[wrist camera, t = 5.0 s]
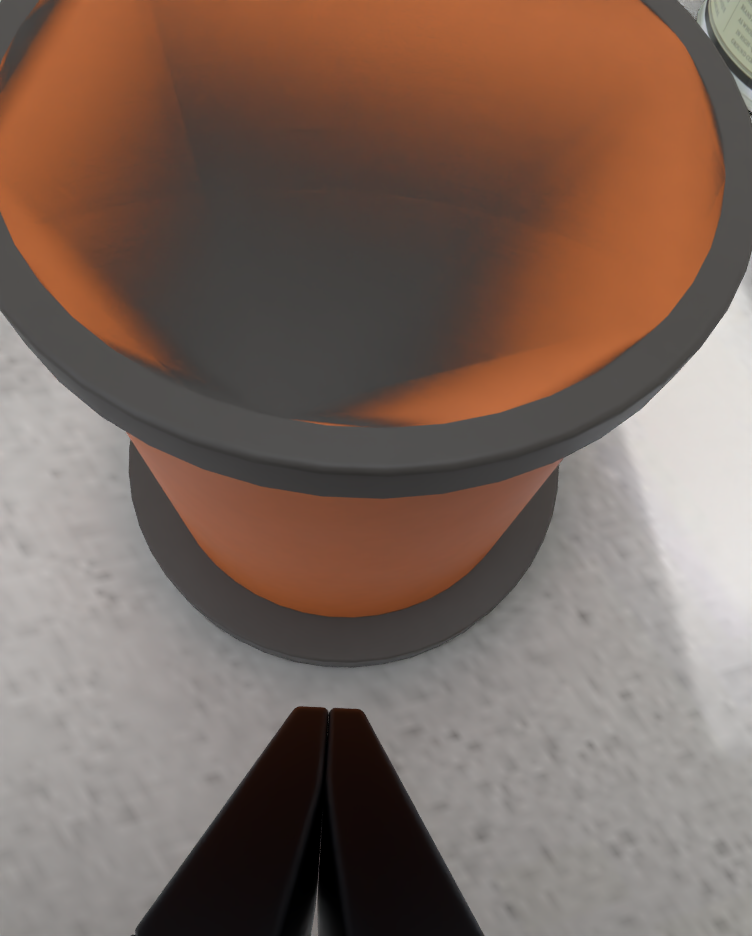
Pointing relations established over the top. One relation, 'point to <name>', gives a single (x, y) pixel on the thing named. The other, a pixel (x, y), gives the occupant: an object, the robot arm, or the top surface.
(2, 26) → the spool
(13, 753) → the top surface
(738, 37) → the coffee can
